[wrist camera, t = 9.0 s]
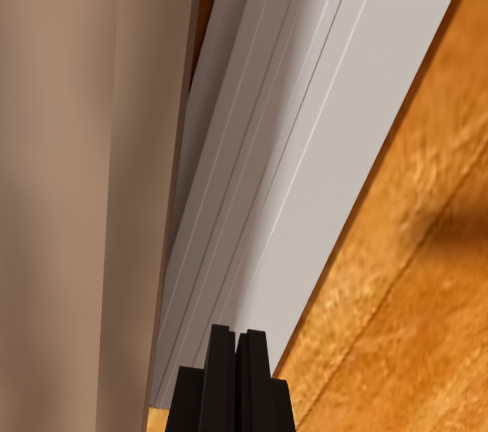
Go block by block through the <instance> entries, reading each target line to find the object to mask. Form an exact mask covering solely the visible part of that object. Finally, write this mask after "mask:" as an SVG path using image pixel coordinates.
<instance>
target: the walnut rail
mask: <svg viewBox="0 0 488 432" xmlns="http://www.w3.org/2000/svg"><path fill="white" fill-rule="evenodd" d="M199 3H200V0H0V432H146V429H147V421H148V412H149V404H150V396H151V388H152V380H153V372H154V364H155V356H156V348H157V340H158V332H159V324H160V316H161V308H162V300H163V292H164V284H165V276H166V268H167V260H168V252H169V244H170V236H171V228H172V220H173V212H174V204H175V196H176V188H177V180H178V172H179V164H180V155H181V147H182V139H183V131H184V123H185V115H186V107H187V99H188V91H189V83H190V75H191V67H192V59H193V51H194V43H195V35H196V27H197V19H198V11H199Z"/></svg>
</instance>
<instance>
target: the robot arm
mask: <svg viewBox="0 0 488 432" xmlns="http://www.w3.org/2000/svg"><path fill="white" fill-rule="evenodd" d="M235 339H236V333H235V332H233V331H229V326H226V325H219V324H212V326H211V331H210V337H209V342H208V347H207V353H206V358H205V363H204V369H201V368H193V367H186V366H179V370H178V375H177V379H176V384H175V388H174V393H173V397H172V402H171V406H170V411H169V416H168V420H167V425H166V429H165V432H296V430H295V424H294V418H293V412H292V406H291V401H290V395H289V389H288V384H287V382H286V380H281V379H274V378H271V373H270V365H269V356H268V347H267V339H266V332H265V331H260V330H253V329H247V332H246V333H240V336H239V340H238V345H237V349H236V354H235Z"/></svg>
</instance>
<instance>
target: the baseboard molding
mask: <svg viewBox="0 0 488 432" xmlns="http://www.w3.org/2000/svg"><path fill="white" fill-rule="evenodd" d="M450 2H451V0H214V4H213V7H212V11H211V15H210V18H209V22H208V26H207V29H206V33H205V37H204V40H203V44H202V48H201V52H200V55H199V59H198V63H197V66H196V70H195V74H194V77H193V81H192V85H191V88H190V92H189V96H188V99H187V107H186V115H185V123H184V131H183V139H182V147H181V155H180V164H179V172H178V180H177V188H176V196H175V204H174V212H173V220H172V228H171V236H170V244H169V252H168V260H167V268H166V276H165V284H164V292H163V300H162V308H161V316H160V324H159V332H158V340H157V348H156V356H155V364H154V372H153V380H152V388H151V396H150V404H149V405H151V406H153V407H154V408H159V409H160V408H164V409H168V410H170V406H171V402H172V397H173V393H174V388H175V384H176V379H177V375H178V370H179V366H186V367H193V368H201V369H204V363H205V358H206V353H207V347H208V342H209V337H210V331H211V326H212V324H219V325H226V326H229V331H233V332H235V333H236V339H235V354H236V349H237V345H238V340H239V336H240V333H246V332H247V329H253V330H260V331H265V332H266V339H267V347H268V356H269V365H270V373H271V377H272V375H273V373H274V371H275V368H276V366H277V364H278V362H279V360H280V358H281V356H282V354H283V352H284V350H285V348H286V345H287V343H288V341H289V339H290V337H291V335H292V333H293V331H294V329H295V327H296V324H297V322H298V320H299V318H300V316H301V314H302V312H303V310H304V308H305V306H306V303H307V301H308V299H309V297H310V295H311V293H312V291H313V289H314V287H315V285H316V283H317V280H318V278H319V276H320V274H321V272H322V270H323V268H324V266H325V264H326V262H327V259H328V257H329V255H330V253H331V251H332V249H333V247H334V245H335V243H336V241H337V239H338V236H339V234H340V232H341V230H342V228H343V226H344V224H345V222H346V220H347V218H348V215H349V213H350V211H351V209H352V207H353V205H354V203H355V201H356V199H357V197H358V194H359V192H360V190H361V188H362V186H363V184H364V182H365V180H366V178H367V176H368V174H369V171H370V169H371V167H372V165H373V163H374V161H375V159H376V157H377V155H378V153H379V150H380V148H381V146H382V144H383V142H384V140H385V138H386V136H387V134H388V132H389V129H390V127H391V125H392V123H393V121H394V119H395V117H396V115H397V113H398V111H399V109H400V106H401V104H402V102H403V100H404V98H405V96H406V94H407V92H408V90H409V88H410V85H411V83H412V81H413V79H414V77H415V75H416V73H417V71H418V69H419V67H420V64H421V62H422V60H423V58H424V56H425V54H426V52H427V50H428V48H429V46H430V44H431V41H432V39H433V37H434V35H435V33H436V31H437V29H438V27H439V25H440V23H441V20H442V18H443V16H444V14H445V12H446V10H447V8H448V6H449V4H450Z"/></svg>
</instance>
